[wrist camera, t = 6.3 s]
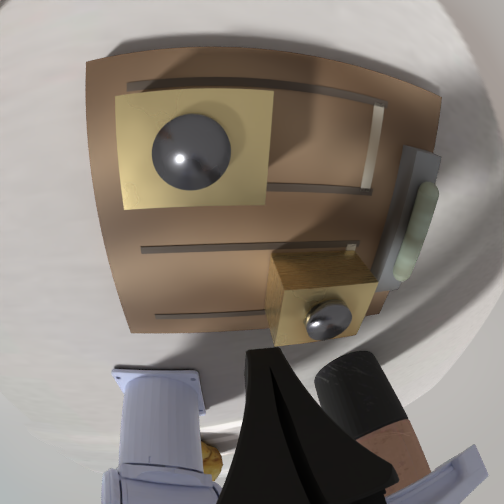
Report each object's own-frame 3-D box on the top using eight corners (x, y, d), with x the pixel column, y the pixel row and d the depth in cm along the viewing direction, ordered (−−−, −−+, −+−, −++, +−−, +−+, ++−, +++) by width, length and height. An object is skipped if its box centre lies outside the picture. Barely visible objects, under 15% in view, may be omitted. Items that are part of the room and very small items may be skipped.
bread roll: (166, 432, 30) (168, 483, 24) (233, 436, 33) (240, 484, 27) (160, 452, 36) (161, 491, 30) (212, 456, 39) (217, 493, 33)
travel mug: (388, 354, 26) (456, 501, 10) (341, 391, 29) (390, 528, 13) (349, 343, 23) (428, 533, 7) (296, 385, 26) (346, 555, 10)
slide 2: (338, 301, 17) (359, 342, 14) (264, 308, 17) (276, 355, 14) (354, 250, 15) (384, 289, 12) (270, 253, 14) (287, 299, 11)
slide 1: (252, 179, 12) (268, 212, 9) (141, 182, 11) (119, 217, 8) (257, 91, 10) (278, 90, 7) (137, 94, 9) (108, 96, 6)
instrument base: (370, 301, 20) (393, 336, 17) (134, 317, 18) (125, 362, 14) (425, 94, 12) (471, 104, 9) (98, 64, 9) (61, 58, 6)
